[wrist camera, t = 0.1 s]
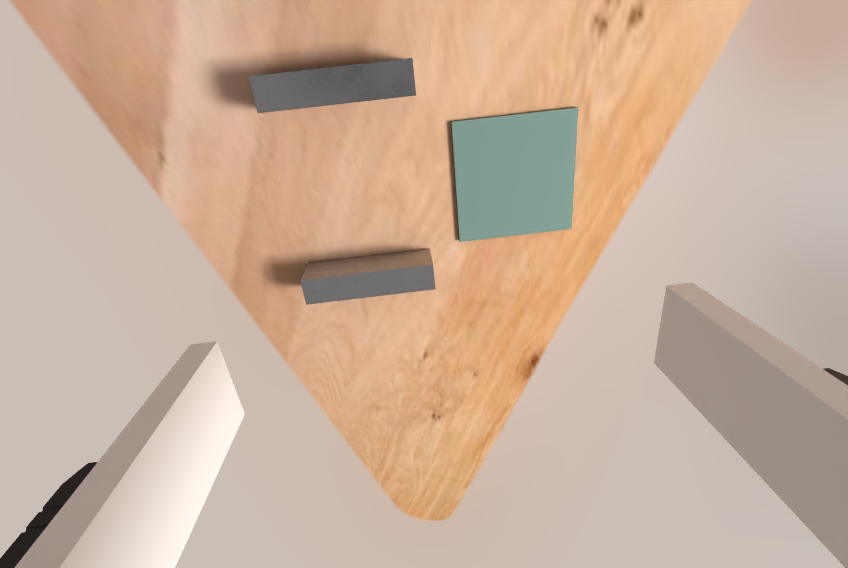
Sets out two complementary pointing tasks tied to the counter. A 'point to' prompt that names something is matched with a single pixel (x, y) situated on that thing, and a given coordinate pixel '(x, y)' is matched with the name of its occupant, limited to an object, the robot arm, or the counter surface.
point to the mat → (515, 173)
